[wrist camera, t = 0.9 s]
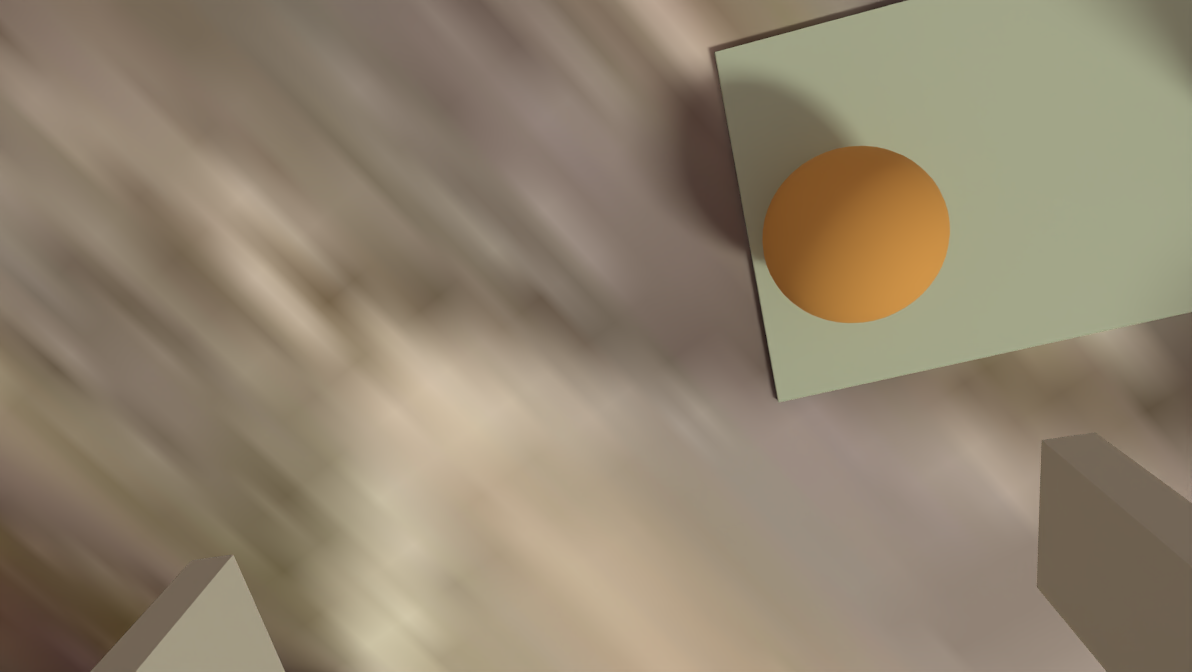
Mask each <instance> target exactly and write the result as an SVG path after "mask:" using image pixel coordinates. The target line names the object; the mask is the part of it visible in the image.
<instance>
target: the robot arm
mask: <svg viewBox="0 0 1192 672" xmlns="http://www.w3.org/2000/svg"><path fill="white" fill-rule="evenodd" d="M1037 588H1038V589H1039V590H1040V591H1041V593H1042V594H1043V595H1044V596H1045V597H1046V599H1047V600H1048V601H1049V602H1050V603H1051V605H1052V606H1053V607H1054V608H1055V610H1056V611H1057V612H1058V613H1059V614H1060V616H1061V617H1062V618H1063V619H1064V620H1065V622H1066V623H1067V624H1068V625H1069V626H1070V628H1071V629H1072V630H1073V631H1074V633H1075V634H1076V635H1077V636H1078V637H1079V639H1080V640H1081V641H1082V642H1083V643H1084V645H1085V646H1086V647H1087V648H1088V649H1089V651H1090V652H1091V653H1092V654H1093V655H1094V657H1095V658H1096V659H1097V660H1098V662H1099V663H1100V664H1101V665H1102V666H1103V668H1104V669H1105V670H1106V671H1107V672H1192V503H1191V502H1189V501H1188V500H1187V499H1185V498H1184V497H1182V496H1181V495H1180V494H1178V493H1177V492H1176V491H1174V490H1173V489H1172V488H1170V487H1169V486H1167V485H1166V484H1165V483H1163V482H1162V481H1161V480H1159V479H1158V478H1157V477H1155V476H1154V475H1152V474H1151V473H1150V472H1148V471H1147V470H1146V469H1144V468H1143V467H1142V466H1140V465H1139V464H1137V463H1136V462H1135V461H1133V460H1132V459H1131V458H1129V457H1128V456H1127V455H1125V454H1124V453H1122V452H1121V451H1120V450H1118V449H1117V448H1116V447H1114V446H1113V445H1112V444H1110V443H1109V442H1107V441H1106V440H1105V439H1103V438H1102V437H1101V436H1099V435H1098V434H1097V433H1088V434H1081V435H1074V436H1067V437H1060V438H1053V439H1046V440H1042V445H1041V476H1040V506H1039V536H1038V567H1037ZM90 672H285V670H284V668H283V666H282V664H281V661H280V659H279V657H278V655H277V652H276V650H275V648H274V646H273V643H272V641H271V639H270V637H269V634H268V632H267V630H266V628H265V625H264V623H263V621H262V619H261V616H260V614H259V612H258V609H257V607H256V605H255V603H254V600H253V598H252V596H251V594H250V591H249V589H248V587H247V585H246V582H245V580H244V578H243V576H242V573H241V571H240V569H239V567H238V564H237V562H236V560H235V558H234V555H227V556H220V557H213V558H206V559H198V560H192V561H191V562H190V563H189V564H188V565H187V566H186V567H185V568H184V569H183V570H182V572H181V573H180V574H179V575H178V576H177V577H176V578H175V579H174V580H173V581H172V583H171V584H170V585H169V586H168V587H167V588H166V589H165V590H164V591H163V592H162V594H161V595H160V596H159V597H158V598H157V599H156V600H155V601H154V602H153V603H152V604H151V606H150V607H149V608H148V609H147V610H146V611H145V612H144V613H143V614H142V615H141V617H140V618H139V619H138V620H137V621H136V622H135V623H134V624H133V625H132V626H131V628H130V629H129V630H128V631H127V632H126V633H125V634H124V635H123V636H122V637H121V639H120V640H119V641H118V642H117V643H116V644H115V645H114V646H113V647H112V648H111V650H110V651H109V652H108V653H107V654H106V655H105V656H104V657H103V658H102V659H101V661H100V662H99V663H98V664H97V665H96V666H95V667H94V668H93V669H92V670H91V671H90Z"/></svg>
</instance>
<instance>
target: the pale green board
mask: <svg viewBox="0 0 1192 672" xmlns="http://www.w3.org/2000/svg"><path fill="white" fill-rule="evenodd" d="M714 54H715V59H716V65H717V70H718V76H719V81H720V87H721V92H722V98H723V103H724V109H725V114H726V120H727V125H728V131H729V136H730V142H731V147H732V153H733V158H734V163H735V169H736V174H737V180H738V185H739V191H740V196H741V202H742V207H743V213H744V218H745V224H746V229H747V235H748V240H749V246H750V251H751V257H752V262H753V268H754V273H755V279H756V284H757V290H758V295H759V301H760V306H761V312H762V317H763V323H764V328H765V333H766V339H767V344H768V350H769V355H770V361H771V366H772V372H773V377H774V383H775V388H776V394H777V399H778V402H783V401H788V400H792V399H797V398H801V397H806V396H810V395H815V394H820V393H824V392H829V391H833V390H838V389H842V388H847V387H852V386H856V385H861V384H865V383H870V382H874V381H879V380H884V379H888V378H893V377H897V376H902V375H906V374H911V373H916V372H920V371H925V370H929V369H934V368H938V367H943V366H948V365H952V364H957V363H961V362H966V361H970V360H975V359H979V358H984V357H989V356H993V355H998V354H1002V353H1007V352H1011V351H1016V350H1021V349H1025V348H1030V347H1034V346H1039V345H1043V344H1048V343H1053V342H1057V341H1062V340H1066V339H1071V338H1075V337H1080V336H1085V335H1089V334H1094V333H1098V332H1103V331H1107V330H1112V329H1117V328H1121V327H1126V326H1130V325H1135V324H1139V323H1144V322H1148V321H1153V320H1158V319H1162V318H1167V317H1171V316H1176V315H1180V314H1185V313H1190V312H1192V0H907V1H903V2H899V3H896V4H892V5H888V6H885V7H881V8H877V9H873V10H870V11H866V12H862V13H859V14H855V15H851V16H847V17H844V18H840V19H836V20H833V21H829V22H825V23H821V24H818V25H814V26H810V27H806V28H803V29H799V30H795V31H792V32H788V33H784V34H780V35H777V36H773V37H769V38H766V39H762V40H758V41H754V42H751V43H747V44H743V45H740V46H736V47H732V48H728V49H725V50H721V51H717V52H714ZM848 146H873V147H879V148H884V149H888V150H891V151H893V152H896V153H898V154H901V155H903V156H905V157H907V158H909V159H910V160H912V161H913V162H915V163H916V164H917V165H919V166H920V167H921V168H922V169H923V170H925V171H926V173H927V174H928V175H929V176H930V177H931V178H932V179H933V181H934V182H935V183H936V185H937V186H938V188H939V190H940V192H941V194H942V196H943V198H944V200H945V203H946V206H947V210H948V214H949V221H950V237H949V245H948V250H947V254H946V257H945V260H944V262H943V265H942V267H941V269H940V271H939V273H938V275H937V276H936V278H935V279H934V281H933V282H932V284H931V285H930V286H929V287H928V288H927V290H926V291H925V292H924V293H923V294H922V295H921V296H920V297H919V298H917V299H916V300H915V301H914V302H912V303H911V304H910V305H908V306H907V307H905V308H903V309H902V310H900V311H898V312H896V313H894V314H892V315H890V316H887V317H885V318H882V319H878V320H875V321H869V322H863V323H840V322H834V321H829V320H825V319H822V318H819V317H816V316H814V315H811V314H809V313H808V312H806V311H804V310H802V309H801V308H799V307H798V306H797V305H795V304H794V303H792V302H791V301H790V300H789V299H788V298H787V297H786V296H785V295H784V294H783V293H782V292H781V290H780V289H779V288H778V287H777V285H776V283H775V282H774V280H773V278H772V277H771V275H770V273H769V270H768V268H767V265H766V261H765V257H764V252H763V242H762V238H763V226H764V220H765V216H766V213H767V210H768V207H769V205H770V203H771V200H772V198H773V197H774V195H775V193H776V192H777V190H778V188H779V187H780V186H781V185H782V183H783V182H784V181H785V180H786V179H787V178H788V177H789V175H790V174H791V173H792V172H794V171H795V170H796V169H797V168H799V167H800V166H801V165H802V164H804V163H806V162H807V161H809V160H810V159H812V158H814V157H816V156H818V155H820V154H823V153H825V152H828V151H831V150H834V149H837V148H843V147H848Z"/></svg>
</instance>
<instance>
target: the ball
mask: <svg viewBox="0 0 1192 672" xmlns="http://www.w3.org/2000/svg"><path fill="white" fill-rule="evenodd" d="M949 237H950V221H949V214H948V210H947V206H946V203H945V200H944V198H943V196H942V194H941V192H940V190H939V188H938V186H937V185H936V183H935V182H934V181H933V179H932V178H931V177H930V176H929V175H928V174H927V173H926V171H925V170H923V169H922V168H921V167H920V166H919V165H917V164H916V163H915V162H913V161H912V160H910V159H909V158H907V157H905V156H903V155H901V154H898V153H896V152H893V151H891V150H888V149H884V148H879V147H873V146H848V147H843V148H837V149H834V150H831V151H828V152H825V153H823V154H820V155H818V156H816V157H814V158H812V159H810V160H809V161H807V162H806V163H804V164H802V165H801V166H800V167H799V168H797V169H796V170H795V171H794V172H792V173H791V174H790V175H789V177H788V178H787V179H786V180H785V181H784V182H783V183H782V185H781V186H780V187H779V188H778V190H777V192H776V193H775V195H774V197H773V198H772V200H771V203H770V205H769V207H768V210H767V213H766V216H765V220H764V226H763V238H762V242H763V252H764V257H765V261H766V265H767V268H768V270H769V273H770V275H771V277H772V278H773V280H774V282H775V283H776V285H777V287H778V288H779V289H780V290H781V292H782V293H783V294H784V295H785V296H786V297H787V298H788V299H789V300H790V301H791V302H792V303H794V304H795V305H797V306H798V307H799V308H801V309H802V310H804V311H806V312H808V313H809V314H811V315H814V316H816V317H819V318H822V319H825V320H829V321H834V322H840V323H863V322H869V321H875V320H878V319H882V318H885V317H887V316H890V315H892V314H894V313H896V312H898V311H900V310H902V309H903V308H905V307H907V306H908V305H910V304H911V303H912V302H914V301H915V300H916V299H917V298H919V297H920V296H921V295H922V294H923V293H924V292H925V291H926V290H927V288H928V287H929V286H930V285H931V284H932V282H933V281H934V279H935V278H936V276H937V275H938V273H939V271H940V269H941V267H942V265H943V262H944V260H945V257H946V254H947V250H948V245H949Z"/></svg>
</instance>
